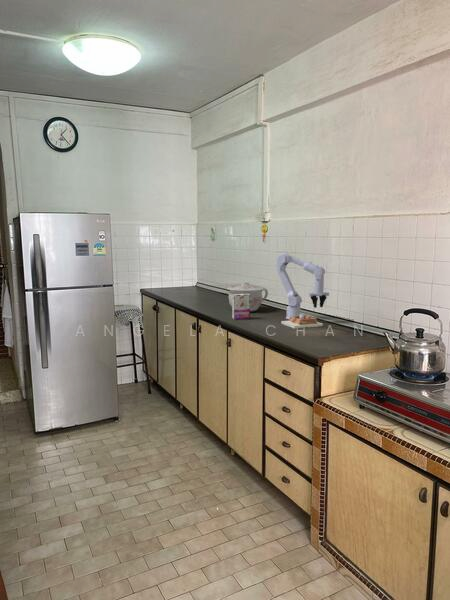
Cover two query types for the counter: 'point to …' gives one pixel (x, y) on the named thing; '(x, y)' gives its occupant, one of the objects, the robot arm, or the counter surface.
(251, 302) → the chamber pot
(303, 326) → the hook board
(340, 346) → the counter surface
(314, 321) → the loop
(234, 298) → the candy bar box
